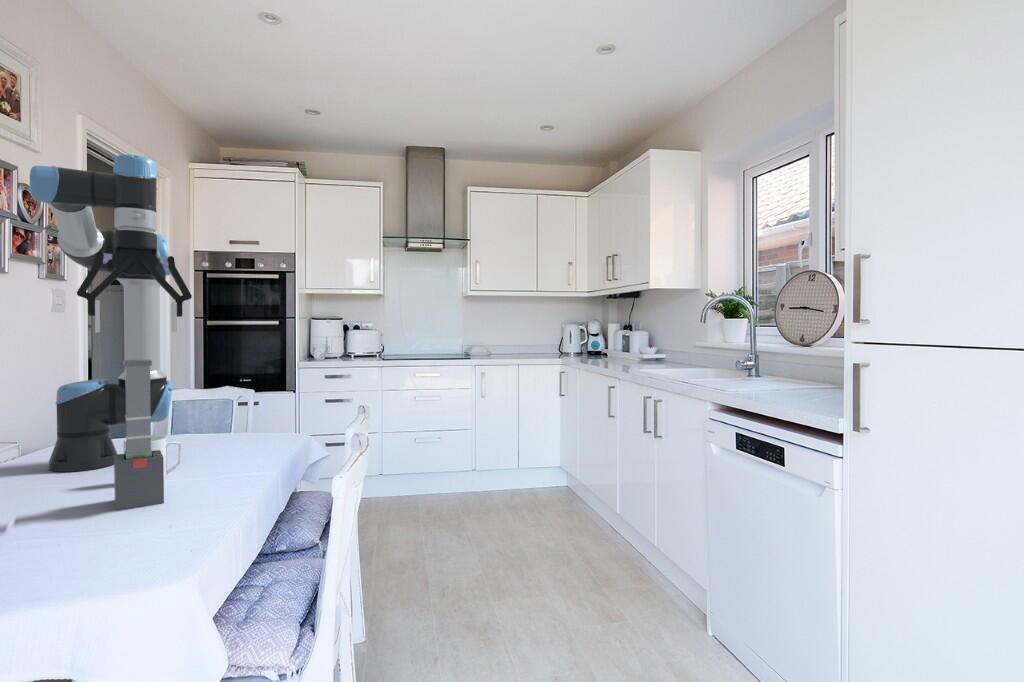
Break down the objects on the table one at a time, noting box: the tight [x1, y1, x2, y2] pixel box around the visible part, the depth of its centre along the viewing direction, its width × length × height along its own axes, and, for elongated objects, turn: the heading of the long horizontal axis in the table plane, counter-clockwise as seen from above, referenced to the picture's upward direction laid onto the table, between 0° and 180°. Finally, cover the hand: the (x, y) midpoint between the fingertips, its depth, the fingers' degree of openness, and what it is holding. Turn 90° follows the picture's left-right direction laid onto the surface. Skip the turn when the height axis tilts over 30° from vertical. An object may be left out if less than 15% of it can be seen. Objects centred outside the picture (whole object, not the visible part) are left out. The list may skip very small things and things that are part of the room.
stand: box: [113, 450, 165, 512], centre depth 122 cm, size 12×16×11 cm
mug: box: [123, 434, 182, 480], centre depth 141 cm, size 12×9×11 cm
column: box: [122, 359, 152, 460], centre depth 122 cm, size 5×5×22 cm
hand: (137, 332), depth 122 cm, fingers open, 13 cm apart
